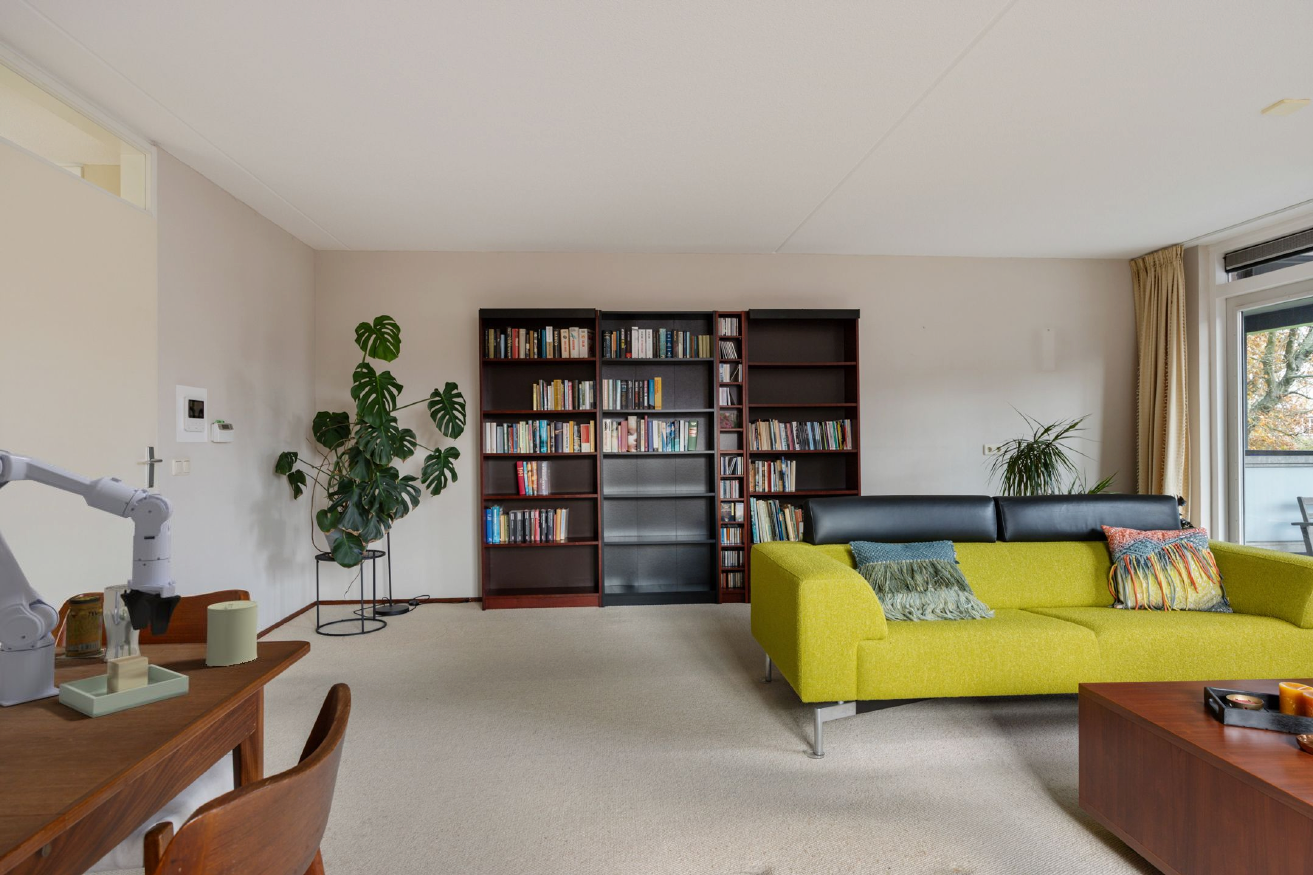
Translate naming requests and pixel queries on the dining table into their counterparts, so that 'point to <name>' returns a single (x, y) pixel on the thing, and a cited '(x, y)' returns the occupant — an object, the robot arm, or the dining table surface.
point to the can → (231, 633)
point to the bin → (96, 702)
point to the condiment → (84, 628)
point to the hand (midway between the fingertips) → (149, 631)
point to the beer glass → (118, 625)
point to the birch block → (126, 673)
